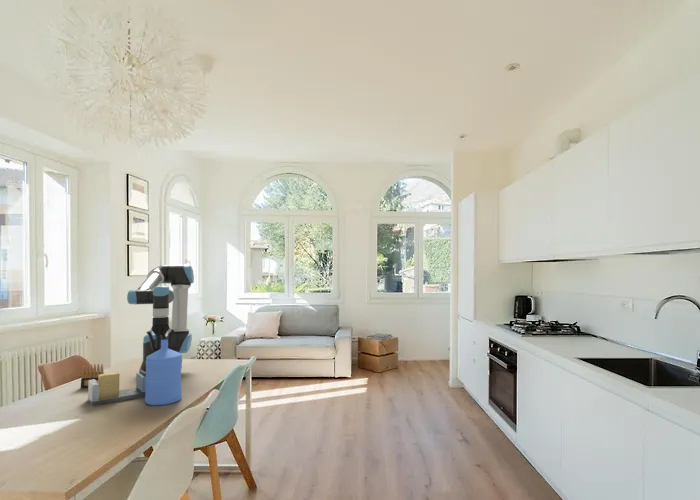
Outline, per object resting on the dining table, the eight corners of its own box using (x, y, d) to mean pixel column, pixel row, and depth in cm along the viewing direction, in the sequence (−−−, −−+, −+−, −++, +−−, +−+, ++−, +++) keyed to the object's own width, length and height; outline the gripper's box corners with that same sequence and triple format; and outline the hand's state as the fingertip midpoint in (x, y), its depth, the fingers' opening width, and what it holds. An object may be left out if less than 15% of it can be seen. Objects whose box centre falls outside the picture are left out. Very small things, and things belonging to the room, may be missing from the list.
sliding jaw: (144, 385, 210) (145, 368, 211) (151, 390, 201) (151, 373, 201) (136, 387, 208) (136, 370, 208) (142, 392, 199) (142, 374, 199)
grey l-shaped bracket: (147, 389, 211) (148, 371, 212) (154, 395, 202) (154, 375, 202) (88, 400, 195) (88, 380, 195) (92, 406, 185) (92, 385, 186)
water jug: (168, 407, 184) (169, 343, 185) (137, 405, 187) (138, 342, 189) (188, 396, 199) (189, 337, 201) (159, 394, 203) (160, 337, 204)
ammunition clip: (104, 386, 218) (104, 363, 219) (102, 387, 216) (103, 364, 217) (82, 387, 217) (82, 364, 217) (80, 388, 215) (81, 364, 215)
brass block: (117, 393, 199) (117, 371, 199) (119, 394, 196) (119, 373, 196) (98, 396, 194) (98, 374, 194) (99, 398, 191) (100, 376, 191)
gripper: (171, 315, 218) (171, 360, 216) (144, 317, 210) (143, 364, 208) (176, 316, 212) (175, 363, 211) (148, 318, 204) (147, 366, 202)
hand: (159, 363), depth 209 cm, fingers closed
